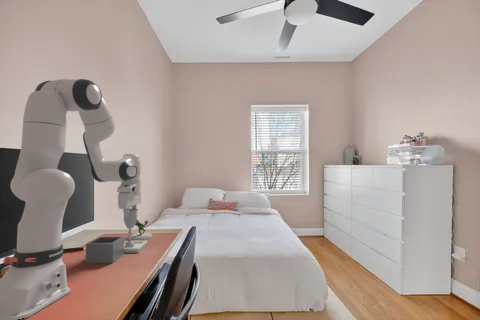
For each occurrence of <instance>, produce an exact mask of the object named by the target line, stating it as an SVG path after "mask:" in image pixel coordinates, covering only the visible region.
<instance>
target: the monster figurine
mask: <svg viewBox="0 0 480 320" xmlns="http://www.w3.org/2000/svg"><path fill="white" fill-rule="evenodd" d="M148 222H149V220H144V223H141V221H140V220H138V219H137V220H136V223H135V225H134V227H135V226H136V227H137V229H138V232H135V233H133V234H131V236H132V237H131V240H132V241H142V240H147V239H150V238H152V236H153V234H152V233H150V232H146V230H145V229H144V228H145V227H146V225H147V224H148ZM141 231H143V232H141Z"/></svg>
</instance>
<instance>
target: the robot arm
mask: <svg viewBox="0 0 480 320" xmlns="http://www.w3.org/2000/svg"><path fill="white" fill-rule="evenodd" d="M68 112H78V114H79V116H80V120H81V121H82V124H83V126H84V132H83V134H82V141H83V145H84V148H85V152H86V154H87V158H88V161H89V164H90V173H91V175H92V177H93V179H94V180H95V181H97V183H106V182H120V185H119V186H118V187H117V190H116V191H117V193H118V194H117V206H118V209H120V210H123V209H124V211H123V213H124V212H125V217H129V216H130V213H129V209H137V205H140V204H141V202H142V194H141V193H142V192H141V185H142V184H141V181H142V180H141V173H142V164H141V159H140V156H138V155H137V154H133V153H132V154H131V153H125V154H123V157H121V158H120V159H118V160H107V159H105V158H104V156H103V153H102V149H101V145H100V144H101V142H103V141H105V140H107V139H108V138H109V137H111V136H112V135H113V133H114V132H115V130H116V124H115V120H114V117H113V115H112V112H111V110H110V108H109V106H108V104H107V102H106V101H105V99H104V98H103V94H102V91H101V89H100V87H99V85H97V84H96V83H95V82H94V81H92V80H91V79H90V80H89V79H85V78H80V79H71V78H70V79H69V78H61V79H54V80H46V81H42V82H41V83H39V84H38V85H37V86H36V87H35V90H34V91H33V92H30V93H29V96H28V98H27V100H26V104H25V107H24V111H23V116H22V117H23V118H22V130H21V131H22V133H21V134H22V135H21V145H20V152H19V156H18V160H17V163H16V165H15V171H14V175H13V178H12V179H11V181H10V190H11V192H12V194H13V195H14V196H15V197H16V198H17V199H19V200H21V201H23V202H25V205H24V208H23V212H22V215H21V218H20V220H19V222H18V224H17V233H16V234H17V236H16V238H17V239H16V250H15V251H14V255H13V256H5V257H4V259H2V260H3V261H2V263H3V264H4V265H10V268H9V269H8V270H7V271H6V272H5V273H4V274H3V275H2V277H1V278H0V320H18V319H20V320H23V319H22V318H24V319H27V318H29V317H31V316H33V315H34V314H36V313H37V312H39V311H41V310H43V309H44V308H46V307H48V306H49V305H51V304H53V303H54V302H56V301H58V300H60V299H61V298H64V297H65V296H66V295H68V294H69V293H71V288H70V287H69V286H68V279H67V267H66V264H65V263H64V261H63V258H62V257H63V256H64V255H63V254H64V245H63V244H62V236H63V235H62V233H63V232H62V231H63V221H64V215H65V212H66V209H67V206H68V202H69V200H70V198H71V197H72V196H73V194H74V192H75V190H76V189H75V188H76V183H75V180H74V179H73V177H72V176H71V174H69V173H66V172H65V171H64V170H60V169H58V166H59V163H60V160H61V158H62V156H63V155H64V153H65V150H66V138H67V113H68Z"/></svg>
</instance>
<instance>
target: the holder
mask: <svg viewBox="0 0 480 320" xmlns="http://www.w3.org/2000/svg"><path fill="white" fill-rule="evenodd" d="M124 241H125V236H98V237H97V238H95V239H93V240H90V241H89V242H87V243H86V244H85V264H114V263H115V262H116V261H118V260H119V259H120V258H121V257H122V256H124V254H125V253H124Z"/></svg>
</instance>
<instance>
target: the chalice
mask: <svg viewBox="0 0 480 320" xmlns="http://www.w3.org/2000/svg"><path fill="white" fill-rule="evenodd" d="M122 211H123V223H124V225H125V226H126V229H128V235H127V237H128V240H127V241H128V242H126V244H125V246H124V248H133V247H135V245H134V242H133V241H134V240H133V239H131V237H132V236H131V235H132V229H134V227H135V226H136V225H135V223H136V220H138V211H139V209H138V208H136V209H132V208H130V209H129V213H130V216H129V217H125V212H124V209H122ZM134 225H135V226H134Z"/></svg>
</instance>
